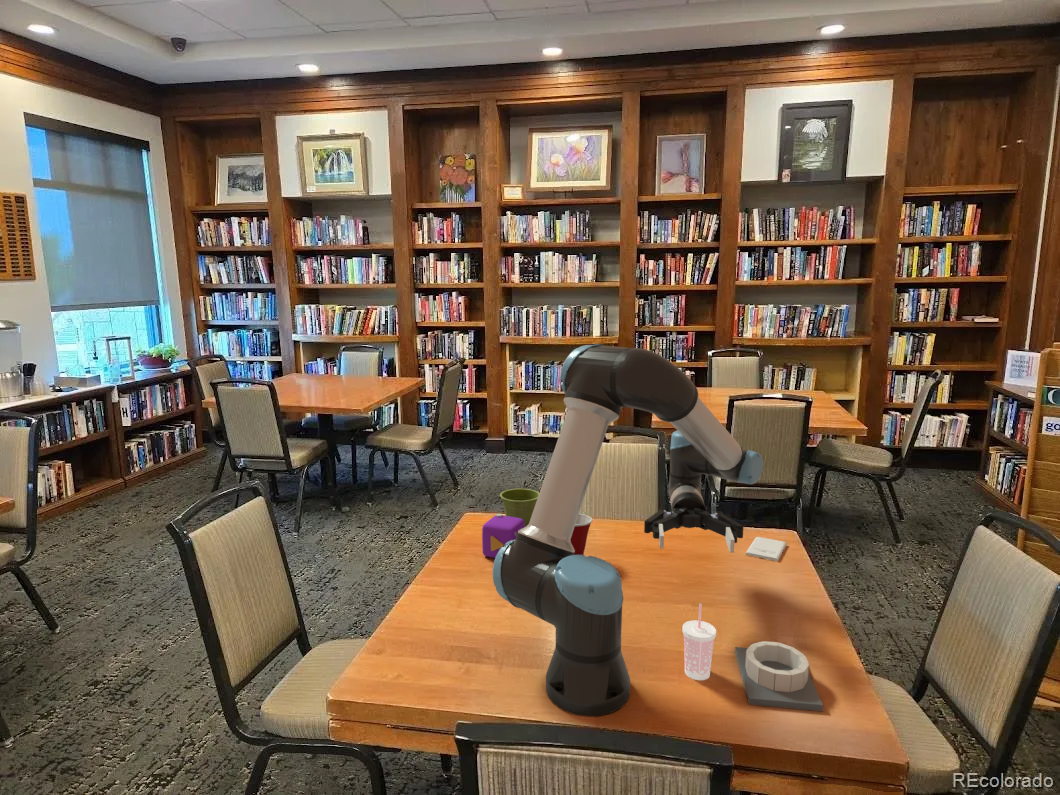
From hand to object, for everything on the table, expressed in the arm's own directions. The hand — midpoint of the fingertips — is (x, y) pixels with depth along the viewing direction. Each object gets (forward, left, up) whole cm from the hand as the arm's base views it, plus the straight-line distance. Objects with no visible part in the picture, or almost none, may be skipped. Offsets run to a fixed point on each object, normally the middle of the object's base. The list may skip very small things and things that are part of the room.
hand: (696, 544), depth 126 cm
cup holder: (+14, -11, -21) cm, 27 cm away
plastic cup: (-28, +35, -21) cm, 50 cm away
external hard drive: (+24, +49, -22) cm, 59 cm away
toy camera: (-45, +36, -21) cm, 62 cm away
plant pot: (-45, +53, -21) cm, 73 cm away
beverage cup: (0, -11, -21) cm, 24 cm away
